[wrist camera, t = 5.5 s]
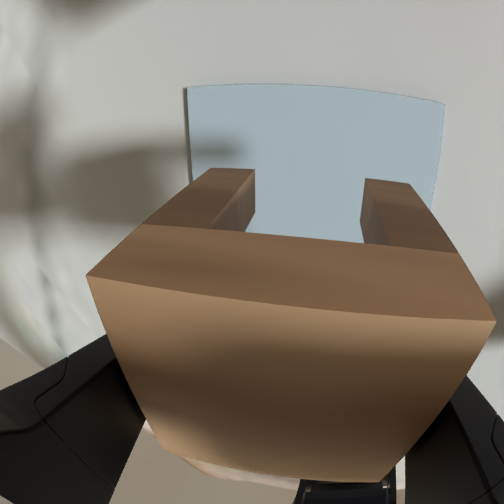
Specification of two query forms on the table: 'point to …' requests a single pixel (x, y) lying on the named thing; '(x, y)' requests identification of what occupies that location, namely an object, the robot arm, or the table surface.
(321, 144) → the mat
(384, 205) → the light brown block
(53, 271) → the table surface
